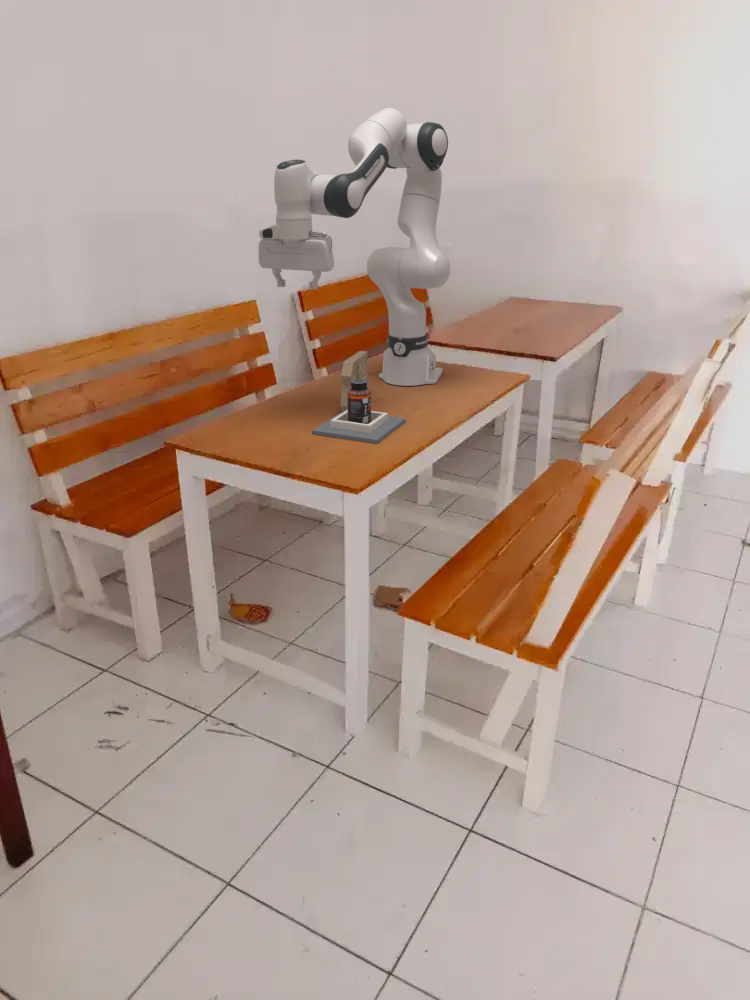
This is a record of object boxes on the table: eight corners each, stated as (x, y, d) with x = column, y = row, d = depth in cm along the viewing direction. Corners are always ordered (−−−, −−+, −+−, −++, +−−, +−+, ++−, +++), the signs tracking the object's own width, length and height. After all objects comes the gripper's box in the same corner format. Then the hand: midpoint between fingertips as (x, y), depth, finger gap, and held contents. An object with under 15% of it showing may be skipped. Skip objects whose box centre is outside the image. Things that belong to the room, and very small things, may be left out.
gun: (351, 421, 208) (351, 364, 203) (339, 420, 209) (339, 364, 204) (368, 402, 231) (368, 350, 226) (357, 401, 231) (357, 350, 226)
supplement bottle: (372, 427, 200) (372, 383, 195) (349, 428, 199) (348, 385, 194) (369, 419, 205) (368, 377, 200) (346, 421, 204) (345, 378, 200)
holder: (344, 413, 213) (344, 402, 212) (405, 421, 206) (405, 410, 205) (312, 434, 198) (311, 422, 197) (377, 443, 191) (377, 432, 190)
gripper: (337, 231, 194) (339, 288, 200) (266, 228, 202) (270, 283, 208) (325, 233, 189) (327, 292, 195) (253, 231, 197) (257, 287, 203)
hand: (297, 288), depth 201 cm, fingers open, 8 cm apart
